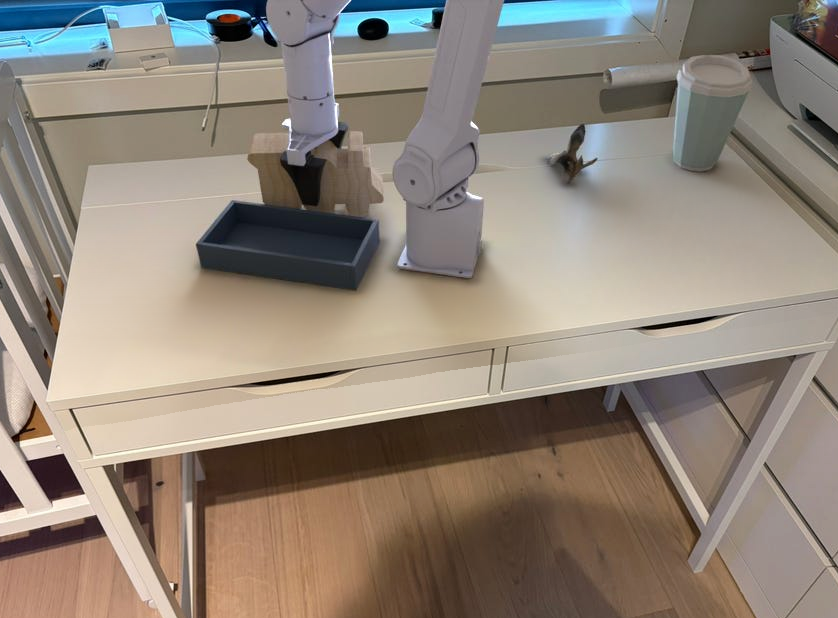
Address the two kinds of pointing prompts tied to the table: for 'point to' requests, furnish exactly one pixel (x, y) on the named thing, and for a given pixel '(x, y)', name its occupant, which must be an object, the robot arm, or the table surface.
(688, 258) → the table surface
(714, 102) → the disposable coffee cup
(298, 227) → the open box
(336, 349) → the table surface
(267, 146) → the toy train
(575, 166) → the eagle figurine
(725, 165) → the table surface
